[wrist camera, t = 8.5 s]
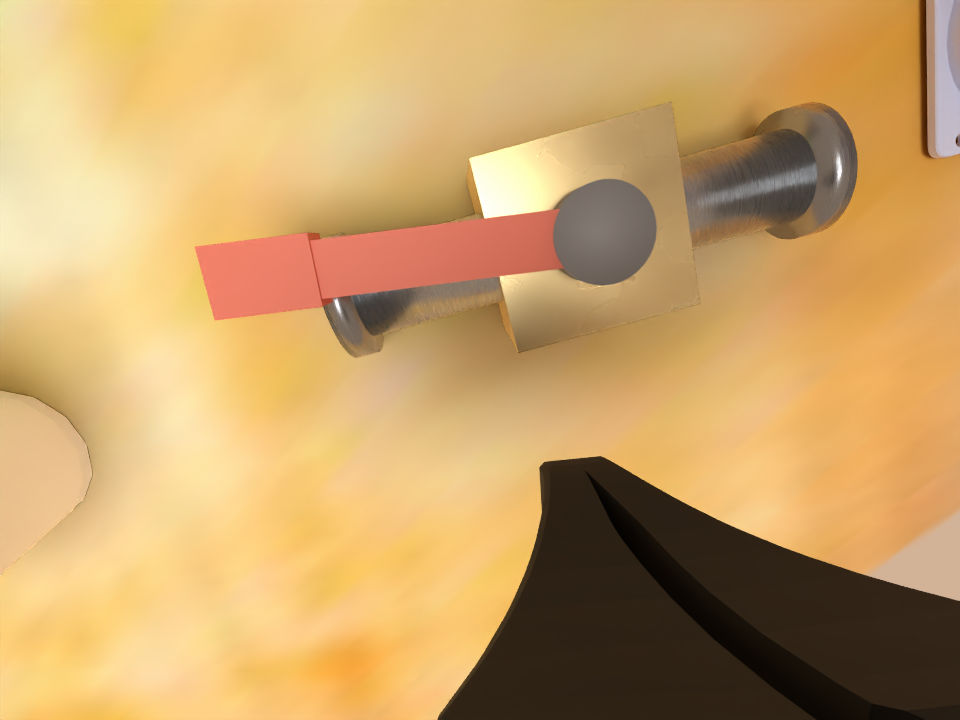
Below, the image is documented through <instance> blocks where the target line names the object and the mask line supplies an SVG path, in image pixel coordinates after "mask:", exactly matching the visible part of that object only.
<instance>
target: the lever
mask: <svg viewBox="0 0 960 720" xmlns="http://www.w3.org/2000/svg"><path fill="white" fill-rule="evenodd" d="M656 234H657V224H656V217H655V213H654V210H653V207H652V205H651V204H650V202H649V200H648V199H647V197H646V196H645V195H644V194H643V193H642V192H641V191H640V190H639V189H638V188H637V187H635V186H634V185H632V184H630V183H628V182H625V181H622V180H618V179H601V180H596V181H593V182H590V183H588V184H586V185H584V186H582V187H579V188H577V189H575V190H573V191H572V192H570V193H569V194H567V195H566V196H565V197H564V198H563V199H562V200H561V201H560V202H559V203H558V204H557V206H556V207H555V209H554V210H547V211H539V212H531V213H523V214H515V215H507V216H499V217H491V218H484V219H476V220H468V221H460V222H452V223H444V224H436V225H428V226H420V227H412V228H404V229H396V230H388V231H380V232H372V233H364V234H356V235H349V236H341V237H333V238H325V239H320V235H319V234H318V233H300V234H293V235H285V236H277V237H269V238H261V239H253V240H245V241H237V242H229V243H221V244H213V245H205V246H197V247H195V249H196V253H197V257H198V260H199V264H200V268H201V271H202V275H203V279H204V282H205V286H206V290H207V293H208V297H209V301H210V304H211V308H212V312H213V315H214V319H215V320H222V319H230V318H238V317H246V316H254V315H261V314H269V313H277V312H285V311H293V310H301V309H308V308H316V307H323V306H325V305H327V304H329V303H332V302H333V299H332V298H335V297H343V296H350V295H358V294H366V293H374V292H382V291H390V290H397V289H405V288H413V287H421V286H429V285H437V284H444V283H452V282H460V281H468V280H476V279H484V278H491V277H499V276H507V275H515V274H523V273H530V272H538V271H546V270H554V269H560V270H561V271H562V272H563V273H565V274H566V275H568V276H569V277H571V278H573V279H576V280H579V281H582V282H585V283H589V284H593V285H612V284H616V283H619V282H622V281H624V280H626V279H628V278H629V277H631V276H633V275H634V274H635V273H636V272H638V271H639V270H640V269H641V267H642V266H643V265H644V264H645V263H646V261H647V260H648V258H649V256H650V254H651V252H652V250H653V247H654V244H655V240H656Z"/></svg>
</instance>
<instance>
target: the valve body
mask: <svg viewBox="0 0 960 720" xmlns="http://www.w3.org/2000/svg"><path fill="white" fill-rule="evenodd" d="M856 178H857V152H856V147H855V142H854V139H853V136H852V133H851V131H850V129H849V127H848V125H847V124H846V122H845V121H844V119H843V118H842V117H841V116H840V115H839V113H838V112H836V111H835V110H834V109H832V108H831V107H829V106H827V105H825V104H821V103H815V102H811V103H804V104H801V105H797V106H794V107H790V108H786V109H783V110H780V111H777V112H775V113H773V114H771V115H770V116H768V117H767V118H766V119H765V120H764V121H763V122H762V123H761V124H760V126H759V127H758V128H757V130H756V132H755V133H754V135H753V137H751V138H747V139H744V140H740V141H737V142H733V143H729V144H726V145H722V146H719V147H715V148H712V149H708V150H704V151H701V152H697V153H694V154H690V155H686V156H683V157H679V150H678V143H677V136H676V129H675V122H674V115H673V108H672V102H668V103H665V104H661V105H658V106H654V107H651V108H647V109H644V110H640V111H636V112H633V113H629V114H626V115H622V116H619V117H615V118H611V119H608V120H604V121H601V122H597V123H594V124H590V125H587V126H583V127H579V128H576V129H572V130H569V131H565V132H562V133H558V134H555V135H551V136H547V137H544V138H540V139H537V140H533V141H530V142H526V143H522V144H519V145H515V146H512V147H508V148H505V149H501V150H498V151H494V152H490V153H487V154H483V155H480V156H476V157H473V158H469V165H468V173H467V184H468V188H469V192H470V196H471V200H472V204H473V208H474V211H475V214H474V215H471V216H467V217H463V218H460V219H456V220H453V221H449V222H445V223H452V222H460V221H468V220H476V219H484V218H491V217H499V216H507V215H515V214H523V213H531V212H539V211H547V210H554V209H555V207H556V206H557V204H558V203H559V202H560V201H561V200H562V199H563V198H564V197H565V196H566V195H567V194H569V193H570V192H572V191H573V190H575V189H577V188H579V187H582V186H584V185H586V184H588V183H590V182H593V181H596V180H601V179H618V180H622V181H625V182H628V183H630V184H632V185H634V186H635V187H637V188H638V189H639V190H640V191H641V192H642V193H643V194H644V195H645V196H646V197H647V199H648V200H649V202H650V204H651V205H652V207H653V210H654V213H655V217H656V224H657V234H656V240H655V244H654V247H653V250H652V252H651V254H650V256H649V258H648V260H647V261H646V263H645V264H644V265H643V266H642V267H641V269H640V270H639V271H638V272H636V273H635V274H634V275H633V276H631V277H629V278H628V279H626V280H624V281H622V282H619V283H616V284H612V285H593V284H589V283H585V282H582V281H579V280H576V279H573V278H571V277H569V276H568V275H566V274H565V273H563V272H562V271H561V270H560V269H554V270H546V271H538V272H530V273H523V274H515V275H507V276H499V277H491V278H484V279H476V280H468V281H460V282H452V283H444V284H437V285H429V286H421V287H413V288H405V289H397V290H390V291H382V292H374V293H366V294H358V295H350V296H343V297H335V298H332V299H333V302H332V303H329V304H327V305H325V306H323V307H324V310H325V313H326V315H327V318H328V320H329V322H330V325H331V327H332V329H333V331H334V333H335V335H336V336H337V338H338V340H339V341H340V343H341V345H342V346H343V347H344V349H345V350H346V351H347V352H348V353H349V354H350V355H351V356H353V357H356V358H358V357H362V356H365V355H369V354H373V353H376V352H380V351H381V349H382V347H383V334H384V333H388V332H391V331H395V330H398V329H402V328H406V327H409V326H413V325H417V324H420V323H424V322H428V321H431V320H435V319H439V318H442V317H446V316H450V315H453V314H457V313H461V312H464V311H468V310H472V309H475V308H479V307H483V306H486V305H490V304H494V303H497V302H498V305H499V309H500V312H501V316H502V320H503V324H504V327H505V329H506V331H507V333H508V335H509V336H510V338H511V340H512V342H513V344H514V345H515V347H516V349H517V351H518V353H520V352H524V351H528V350H531V349H535V348H539V347H542V346H546V345H550V344H553V343H557V342H561V341H564V340H568V339H572V338H576V337H579V336H583V335H587V334H590V333H594V332H598V331H601V330H605V329H609V328H613V327H616V326H620V325H624V324H627V323H631V322H635V321H638V320H642V319H646V318H649V317H653V316H657V315H661V314H664V313H668V312H672V311H675V310H679V309H683V308H686V307H690V306H694V305H697V304H700V298H699V291H698V284H697V277H696V270H695V263H694V256H693V249H695V248H698V247H702V246H706V245H709V244H713V243H717V242H720V241H724V240H728V239H731V238H735V237H739V236H742V235H746V234H750V233H753V232H757V231H761V230H764V229H765V230H766V231H767V232H769V233H770V234H772V235H773V236H775V237H778V238H781V239H795V238H798V237H802V236H806V235H809V234H813V233H817V232H820V231H823V230H825V229H827V228H828V227H830V226H831V225H832V224H834V223H835V222H836V221H837V220H838V219H839V218H840V216H841V215H842V214H843V213H844V211H845V209H846V208H847V206H848V204H849V202H850V200H851V197H852V194H853V191H854V188H855V183H856ZM442 224H444V223H442ZM341 236H347V235H345V234H344V233H338V234H335V235H331V236H328V237H324V238H320V239H325V238H333V237H341Z"/></svg>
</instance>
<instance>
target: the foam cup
mask: <svg viewBox="0 0 960 720" xmlns="http://www.w3.org/2000/svg"><path fill="white" fill-rule="evenodd" d="M92 474H93V473H92V468H91V463H90V459H89V454H88V449H87V444H86V443H85V442H84V440H83V439H82V438H81V436H80V435H79V434H78V432H77V431H76V430H75V428H74V427H73V426H72V424H71V423H70V422H69V421H68V419H67V418H66V417H65V416H64V415H62V414H60V413H59V412H57V411H55V410H54V409H52V408H51V407H49V406H47V405H46V404H44V403H43V402H41V401H39V400H38V399H36V398H35V397H30V396H25V395H20V394H15V393H10V392H5V391H0V576H1V575H2V574H3V573H4V572H5V571H6V570H8V569H9V568H10V567H11V566H12V565H13V564H14V563H15V562H16V561H17V560H19V559H20V558H21V557H22V556H23V555H24V554H25V553H26V552H27V551H28V550H30V549H31V548H32V547H33V546H34V545H35V544H36V543H37V542H38V541H39V540H41V539H42V538H43V537H44V536H45V535H46V534H47V533H48V532H49V531H50V530H52V529H53V528H54V527H55V526H56V525H57V524H58V523H59V522H60V521H62V520H63V519H64V518H65V517H66V516H67V515H68V514H69V513H70V512H71V511H73V510H74V508H75V507H76V506H77V505H78V504H79V503H80V502H82V501H83V500H84V498H85V495H86V492H87V489H88V486H89V483H90V480H91V477H92Z"/></svg>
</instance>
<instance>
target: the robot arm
mask: <svg viewBox="0 0 960 720" xmlns="http://www.w3.org/2000/svg"><path fill="white" fill-rule="evenodd" d="M926 28H927V116H928V151H929V154H930V155H931V157H933V158H944V157H949V156H953V155H957V154H960V0H926ZM956 137H958V143H957V145H956V142H955V141H956ZM539 468H540V485H541V502H542V516H541V520H540V525H539V529H538V534H537V538H536V542H535V545H534V549H533V552H532V555H531V558H530V561H529V564H528V566H527V569H526V572H525V574H524V577H523V579H522V581H521V584H520V586H519V588H518V591H517V593H516V595H515V597H514V600H513V602H512V604H511V606H510V608H509V610H508V612H507V614H506V616H505V617H504V619H503V621H502V622H501V624H500V626H499V628H498V629H497V631H496V633H495V634H494V636H493V638H492V640H491V641H490V643H489V645H488V646H487V648H486V650H485V652H484V653H483V655H482V656H481V658H480V659H479V661H478V662H477V664H476V665H475V667H474V668H473V670H472V671H471V672H470V674H469V675H468V676H467V678H466V679H465V681H464V682H463V683H462V685H461V686H460V687H459V689H458V690H457V692H456V693H455V694H454V696H453V697H452V698H451V700H450V701H449V703H448V704H447V705H446V707H445V708H444V709H443V711H442V712H441V713H440V715H439V717H438V720H960V601H957V600H953V599H950V598H946V597H942V596H938V595H934V594H930V593H927V592H923V591H919V590H915V589H911V588H908V587H904V586H900V585H897V584H893V583H890V582H886V581H883V580H880V579H876V578H872V577H869V576H866V575H863V574H859V573H856V572H853V571H850V570H847V569H844V568H841V567H838V566H835V565H832V564H829V563H826V562H823V561H820V560H817V559H814V558H811V557H808V556H805V555H802V554H800V553H797V552H794V551H791V550H789V549H786V548H783V547H781V546H778V545H776V544H773V543H771V542H768V541H766V540H763V539H761V538H759V537H756V536H754V535H751V534H749V533H746V532H744V531H741V530H739V529H737V528H735V527H732V526H730V525H728V524H726V523H724V522H721V521H719V520H717V519H715V518H713V517H711V516H709V515H707V514H705V513H703V512H701V511H699V510H697V509H695V508H693V507H691V506H689V505H687V504H685V503H683V502H681V501H680V500H678V499H676V498H674V497H672V496H670V495H669V494H667V493H665V492H663V491H661V490H660V489H658V488H656V487H654V486H653V485H651V484H649V483H647V482H646V481H644V480H642V479H641V478H639V477H637V476H635V475H634V474H632V473H630V472H629V471H627V470H625V469H624V468H622V467H620V466H618V465H617V464H615V463H613V462H611V461H610V460H608V459H606V458H604V457H601V456H598V457H588V458H578V459H568V460H559V461H549V462H544V463H543V464H542V465H541V466H540V467H539Z"/></svg>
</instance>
